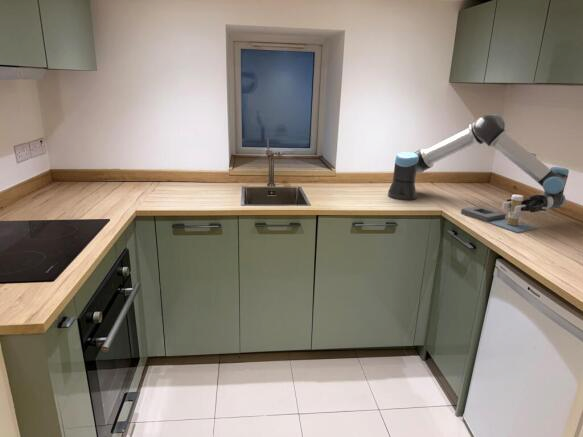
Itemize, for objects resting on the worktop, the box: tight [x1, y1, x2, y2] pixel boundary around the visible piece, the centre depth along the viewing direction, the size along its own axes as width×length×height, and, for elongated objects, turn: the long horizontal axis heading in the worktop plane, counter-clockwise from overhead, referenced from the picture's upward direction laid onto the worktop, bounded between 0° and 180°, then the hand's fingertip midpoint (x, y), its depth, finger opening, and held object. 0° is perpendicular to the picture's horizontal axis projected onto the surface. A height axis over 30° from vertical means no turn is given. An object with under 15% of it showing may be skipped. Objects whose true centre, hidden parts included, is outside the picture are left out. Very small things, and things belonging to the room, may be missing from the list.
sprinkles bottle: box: [507, 194, 524, 226], centre depth 182 cm, size 5×5×13 cm
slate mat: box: [487, 217, 537, 234], centre depth 184 cm, size 14×14×1 cm
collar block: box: [460, 205, 507, 223], centre depth 196 cm, size 14×14×2 cm
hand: (509, 207), depth 178 cm, fingers open, 5 cm apart
